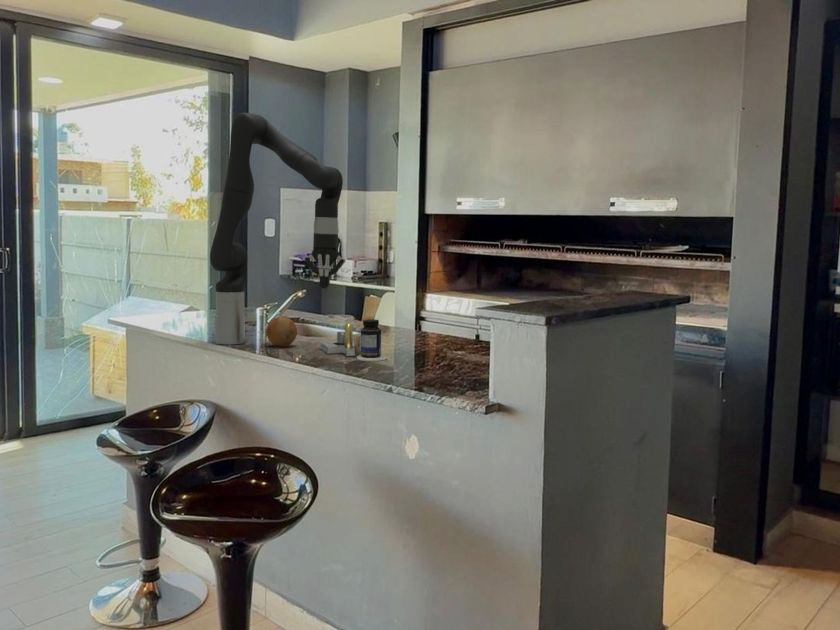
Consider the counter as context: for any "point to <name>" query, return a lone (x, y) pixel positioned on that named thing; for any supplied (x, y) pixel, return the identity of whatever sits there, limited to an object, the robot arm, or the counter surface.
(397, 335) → the counter surface
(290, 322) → the onion
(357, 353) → the dowel
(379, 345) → the pill bottle
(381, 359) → the coaster
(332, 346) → the grey plate with post
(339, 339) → the post
